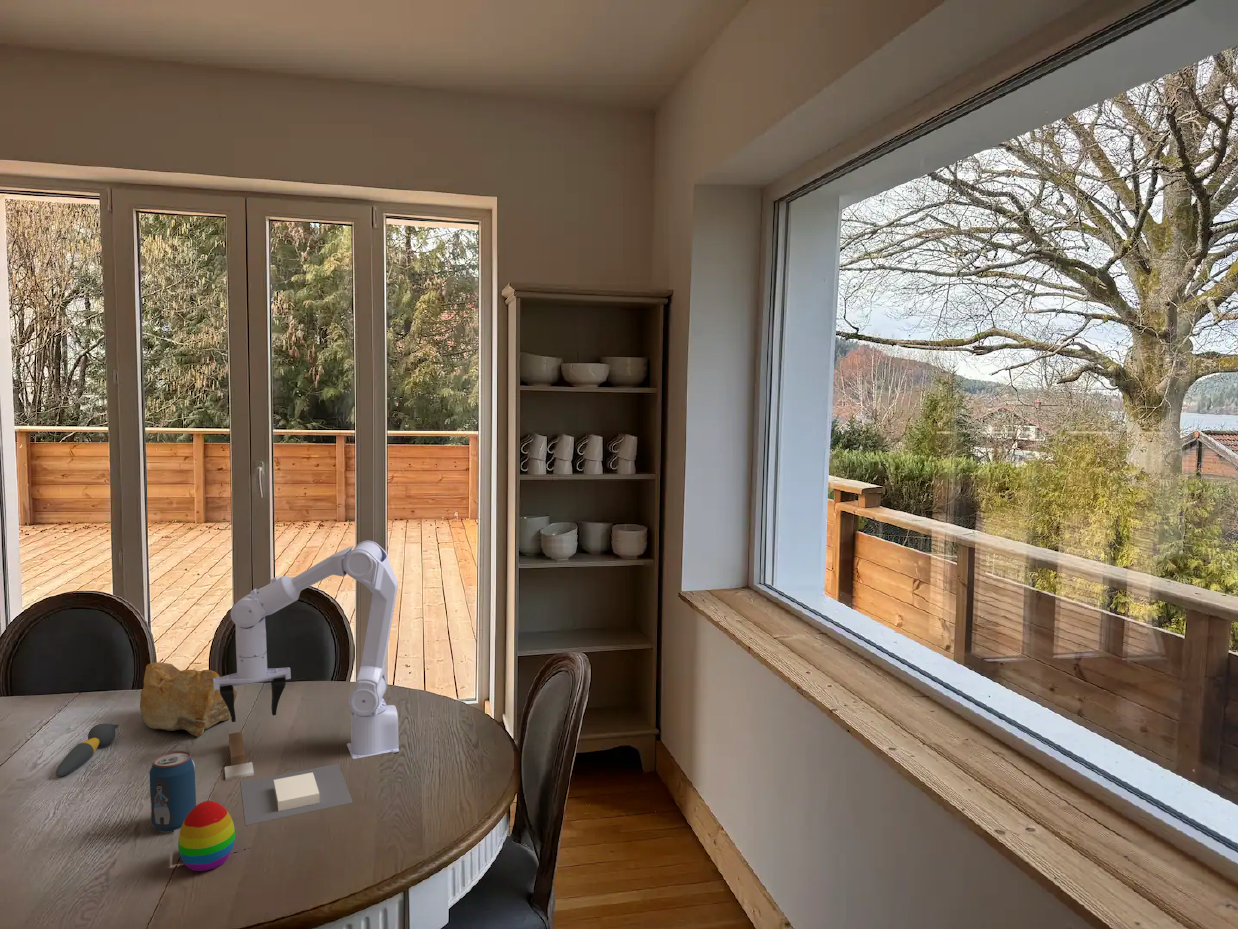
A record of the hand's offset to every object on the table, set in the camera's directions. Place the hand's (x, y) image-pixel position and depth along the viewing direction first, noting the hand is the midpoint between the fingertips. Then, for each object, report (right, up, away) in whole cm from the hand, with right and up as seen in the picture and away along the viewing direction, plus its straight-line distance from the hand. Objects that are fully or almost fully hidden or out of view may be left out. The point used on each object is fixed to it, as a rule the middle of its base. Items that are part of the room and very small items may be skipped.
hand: (253, 717), depth 170 cm
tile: (+14, -8, -14) cm, 21 cm away
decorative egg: (+9, -12, -38) cm, 41 cm away
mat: (+15, -10, -16) cm, 24 cm away
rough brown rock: (-19, -6, +15) cm, 25 cm away
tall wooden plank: (-2, -8, -3) cm, 9 cm away
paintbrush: (-33, -8, -2) cm, 34 cm away
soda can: (-2, -11, -27) cm, 29 cm away
